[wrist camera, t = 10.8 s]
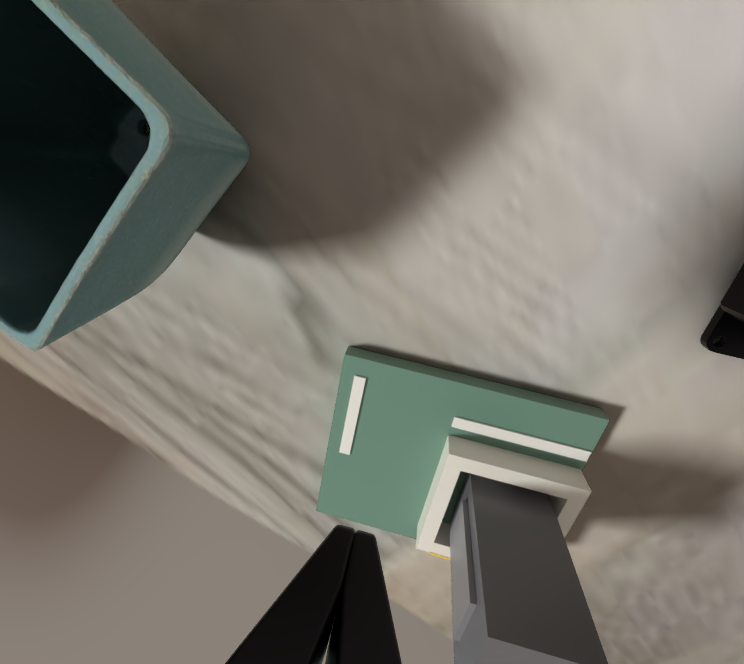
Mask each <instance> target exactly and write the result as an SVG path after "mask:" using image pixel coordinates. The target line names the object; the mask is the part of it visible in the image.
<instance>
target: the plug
mask: <svg viewBox="0 0 744 664" xmlns="http://www.w3.org/2000/svg"><path fill="white" fill-rule="evenodd" d="M450 558H451V590H452V622H453V640H454V664H608V662H607V659H606V656H605V653H604V651H603V648H602V645H601V642H600V639H599V636H598V633H597V630H596V628H595V625H594V622H593V619H592V616H591V613H590V610H589V608H588V605H587V602H586V599H585V596H584V593H583V590H582V588H581V585H580V582H579V579H578V576H577V573H576V570H575V568H574V565H573V562H572V559H571V556H570V553H569V550H568V548H567V545H566V542H565V539H564V536H563V533H562V530H561V527H560V525H559V522H558V519H557V516H556V513H555V510H554V507H553V505H552V502H551V499H550V496H549V494H546V493H542V492H538V491H534V490H531V489H527V488H523V487H519V486H516V485H512V484H508V483H504V482H501V481H497V480H493V479H489V478H486V477H482V476H478V475H475V474H471V473H467V476H466V479H465V481H464V484H463V487H462V489H461V492H460V495H459V497H458V500H457V503H456V505H455V508H454V511H453V513H452V516H451V519H450Z"/></svg>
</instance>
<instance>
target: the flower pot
mask: <svg viewBox="0 0 744 664" xmlns="http://www.w3.org/2000/svg"><path fill="white" fill-rule="evenodd" d="M145 123H148V124H149V126H150V135H146V134H145V133H144V131H143V126H144V124H145ZM249 157H250V149H249V146H248V144H247V142H246V141H245V140H244V138H243V137H242V136H241V135H240V134H239V133H238V132H237V131H236V130H235V129H234V128H233V127H232V126H231V125H230V124H229V123H228V122H227V121H226V119H225V118H224V117H223V116H222V115H221V114H220V113H219V112H218V111H217V110H216V109H215V108H214V107H213V106H212V105H211V104H210V103H209V102H208V101H207V100H206V99H205V98H204V97H203V96H202V95H201V94H200V93H199V92H198V91H197V90H196V89H195V88H194V87H193V86H192V85H191V84H190V83H189V81H188V80H187V79H186V78H185V77H184V76H183V75H182V74H181V73H180V72H179V71H178V70H177V69H176V68H175V67H174V66H173V65H172V64H171V63H170V62H169V61H168V60H167V59H166V58H165V57H164V55H163V54H162V53H161V52H160V51H159V50H158V49H157V48H156V47H155V46H154V45H153V44H152V43H151V42H150V41H149V40H148V39H147V38H146V37H145V35H144V34H143V33H142V32H141V31H140V30H139V29H138V28H137V27H136V26H135V25H134V24H133V23H132V22H131V21H130V20H129V19H128V17H127V16H126V15H125V14H124V13H123V12H122V11H121V10H120V9H119V8H118V7H117V6H116V5H115V4H114V3H113V2H112V1H111V0H0V329H2V330H3V331H4V332H5V333H6V334H7V335H9V336H10V337H11V338H13V339H14V340H16V341H17V342H19V343H21V344H22V345H24V346H26V347H28V348H29V349H31V350H33V351H37V350H39V349H41V348H43V347H44V346H46V345H48V344H50V343H52V342H53V341H55V340H57V339H59V338H60V337H62V336H64V335H66V334H68V333H69V332H71V331H73V330H75V329H76V328H78V327H80V326H82V325H84V324H85V323H87V322H89V321H91V320H93V319H94V318H96V317H98V316H100V315H101V314H103V313H105V312H107V311H109V310H110V309H112V308H114V307H116V306H117V305H119V304H121V303H122V302H124V301H126V300H127V299H129V298H131V297H133V296H134V295H136V294H137V293H139V292H141V291H142V290H143V289H145V288H146V287H147V286H149V285H150V284H151V283H153V282H154V281H155V280H156V279H157V278H158V277H159V276H160V275H161V274H162V273H163V272H164V271H165V270H166V269H167V268H168V267H169V266H170V264H171V263H172V262H173V261H174V259H175V258H176V257H177V256H178V254H179V253H180V252H181V250H182V249H183V248H184V246H185V245H186V244H187V242H188V241H189V240H190V238H191V237H192V235H193V234H194V233H195V231H196V230H197V229H198V227H199V226H200V225H201V223H202V222H203V221H204V219H205V218H206V217H207V215H208V214H209V213H210V211H211V210H212V209H213V207H214V206H215V205H216V203H217V202H218V201H219V199H220V198H221V197H222V195H223V194H224V193H225V191H226V190H227V189H228V188H229V186H230V185H231V184H232V182H233V181H234V180H235V178H236V177H237V176H238V174H239V173H240V172H241V171H242V169H243V168H244V167H245V165H246V164H247V162H248V160H249Z"/></svg>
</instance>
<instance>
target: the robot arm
mask: <svg viewBox="0 0 744 664" xmlns="http://www.w3.org/2000/svg"><path fill="white" fill-rule="evenodd" d="M719 336H721V337H720V340H719V341H718V342H716V343H713V341H714V339H715V338H717V337H719ZM700 340H701V344H702V345H703V346H704V347H705V348H707V349H708V350H710V351H712V352H716V353H720V354H724V355H729V356H733V357H737V358H742V359H744V264H743V266H742V268H741V269H740V271H739V273H738V274H737V276H736V278H735V279H734V281H733V283H732V284H731V286H730V288H729V289H728V291H727V293H726V294H725V296H724V298H723V299H722V301H721V304H720V306H719V308H718V309H717V311H716V313H715V314H714V316H713V318H712V319H711V321H710V323H709V324H708V326H707V328H706V329H705V331H704V333H703V334H702V336H701V339H700ZM354 535H355V536H354ZM334 618H335V619H334ZM333 622H334V623H333ZM332 626H333V627H332ZM331 630H332V631H331ZM330 634H331V635H330ZM329 638H330V640H329ZM328 642H329V645H328ZM327 645H328V650H327V656H326V662H325V664H401V658H400V653H399V648H398V644H397V639H396V634H395V629H394V624H393V620H392V615H391V610H390V605H389V600H388V595H387V590H386V585H385V580H384V575H383V571H382V566H381V561H380V556H379V551H378V546H377V541H376V538H375V536H374V535H373V534H371V533H367V532H364V531H360V530H358V531H356V533H355V530H354V529H353V528H350V527H346V526H343V525H337V526H335V527H334V529H333V530H332V531H331V532H330V533H329V535H328V536H327V537H326V538H325V540H324V541H323V542H322V543H321V545H320V546H319V547H318V548H317V550H316V551H315V552H314V553H313V555H312V556H311V557H310V558H309V560H308V561H307V562H306V564H305V565H304V566H303V567H302V568H301V570H300V571H299V572H298V573H297V575H296V576H295V577H294V578H293V580H292V581H291V582H290V583H289V585H288V586H287V587H286V588H285V589H284V591H283V592H282V593H281V595H280V596H279V597H278V598H277V600H276V601H275V602H274V603H273V605H272V606H271V607H270V608H269V609H268V611H267V612H266V613H265V614H264V616H263V617H262V618H261V619H260V621H259V622H258V623H257V624H256V626H255V627H254V628H253V629H252V631H251V632H250V633H249V634H248V636H247V637H246V638H245V639H244V641H243V642H242V643H241V644H240V645H239V647H238V648H237V649H236V650H235V652H234V653H233V654H232V655H231V657H230V658H229V659H228V661H227V662H226V663H225V664H322V661H323V658H324V655H325V652H326V649H327Z"/></svg>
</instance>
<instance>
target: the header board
mask: <svg viewBox="0 0 744 664" xmlns="http://www.w3.org/2000/svg"><path fill="white" fill-rule="evenodd" d="M608 422H609V419H608V418H607V416H606V415H605V413H604V412H603V410H602V409H601V408H597V407H593V406H589V405H585V404H581V403H577V402H573V401H568V400H564V399H560V398H556V397H552V396H548V395H544V394H540V393H536V392H532V391H528V390H524V389H520V388H516V387H512V386H508V385H504V384H500V383H496V382H492V381H488V380H484V379H480V378H476V377H472V376H468V375H464V374H460V373H456V372H452V371H448V370H443V369H439V368H435V367H431V366H427V365H423V364H419V363H415V362H411V361H407V360H403V359H399V358H395V357H391V356H387V355H383V354H379V353H375V352H371V351H367V350H363V349H359V348H355V347H351V346H349V347H348V349H347V351H346V353H345V355H344V360H343V366H342V371H341V377H340V382H339V388H338V393H337V399H336V404H335V410H334V415H333V421H332V426H331V432H330V437H329V443H328V448H327V454H326V459H325V465H324V470H323V475H322V481H321V486H320V492H319V497H318V503H317V508H316V511H319V512H322V513H326V514H329V515H333V516H336V517H340V518H343V519H347V520H350V521H354V522H357V523H361V524H364V525H368V526H372V527H375V528H379V529H382V530H386V531H389V532H393V533H396V534H400V535H403V536H407V537H410V538H414V539H417V540H416V548H417V549H420V550H424V551H427V552H429V554H430V555H433V556H437V557H440V558H444V559H447V560H451V558H450V519H451V516H452V513H453V511H454V508H455V505H456V503H457V500H458V497H459V495H460V492H461V489H462V487H463V484H464V481H465V479H466V476H467V473H471V474H475V475H478V476H482V477H486V478H489V479H493V480H497V481H501V482H504V483H508V484H512V485H516V486H519V487H523V488H527V489H531V490H534V491H538V492H542V493H546V494H549V496H550V499H551V502H552V505H553V507H554V510H555V513H556V516H557V519H558V522H559V525H560V527H561V530H562V533H563V536H564V539H565V537H566V535H567V534H568V532H569V530H570V528H571V527H572V525H573V523H574V522H575V520H576V518H577V516H578V515H579V513H580V511H581V509H582V508H583V506H584V504H585V502H586V501H587V499H588V497H589V495H590V494H591V492H592V491H591V489H590V487H589V485H588V483H587V481H586V479H585V477H584V475H583V473H582V470H583V468H584V466H585V464H586V463H587V461H588V459H589V457H590V455H591V453H592V452H593V450H594V448H595V446H596V444H597V442H598V441H599V439H600V437H601V435H602V433H603V431H604V430H605V428H606V426H607V424H608Z"/></svg>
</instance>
